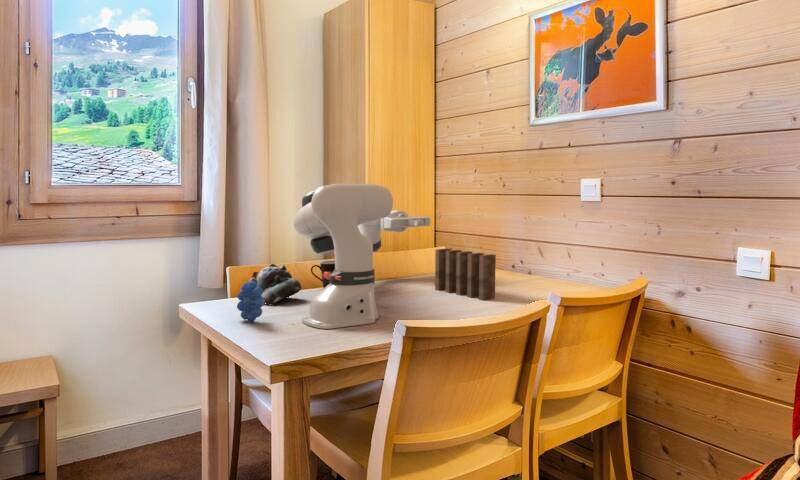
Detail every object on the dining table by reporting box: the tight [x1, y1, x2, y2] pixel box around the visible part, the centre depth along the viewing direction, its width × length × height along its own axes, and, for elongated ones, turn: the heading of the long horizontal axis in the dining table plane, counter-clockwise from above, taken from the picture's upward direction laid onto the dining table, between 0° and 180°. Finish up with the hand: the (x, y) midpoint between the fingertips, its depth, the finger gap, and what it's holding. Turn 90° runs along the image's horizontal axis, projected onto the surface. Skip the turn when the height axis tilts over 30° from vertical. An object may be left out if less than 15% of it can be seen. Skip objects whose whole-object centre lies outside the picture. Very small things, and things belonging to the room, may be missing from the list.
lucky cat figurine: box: [248, 263, 303, 305], centre depth 187 cm, size 15×12×14 cm
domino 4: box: [466, 252, 485, 299], centre depth 194 cm, size 6×2×15 cm, turn 128°
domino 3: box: [455, 250, 473, 296], centre depth 198 cm, size 6×2×15 cm, turn 128°
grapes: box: [236, 281, 266, 323], centre depth 159 cm, size 12×7×12 cm, turn 50°
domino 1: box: [434, 247, 452, 292], centre depth 207 cm, size 6×2×15 cm, turn 128°
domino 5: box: [478, 253, 497, 301], centre depth 189 cm, size 6×2×15 cm, turn 128°
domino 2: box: [444, 249, 462, 294], centre depth 202 cm, size 6×2×15 cm, turn 128°
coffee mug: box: [310, 260, 335, 289], centre depth 209 cm, size 12×9×10 cm
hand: (420, 223), depth 215 cm, fingers closed
